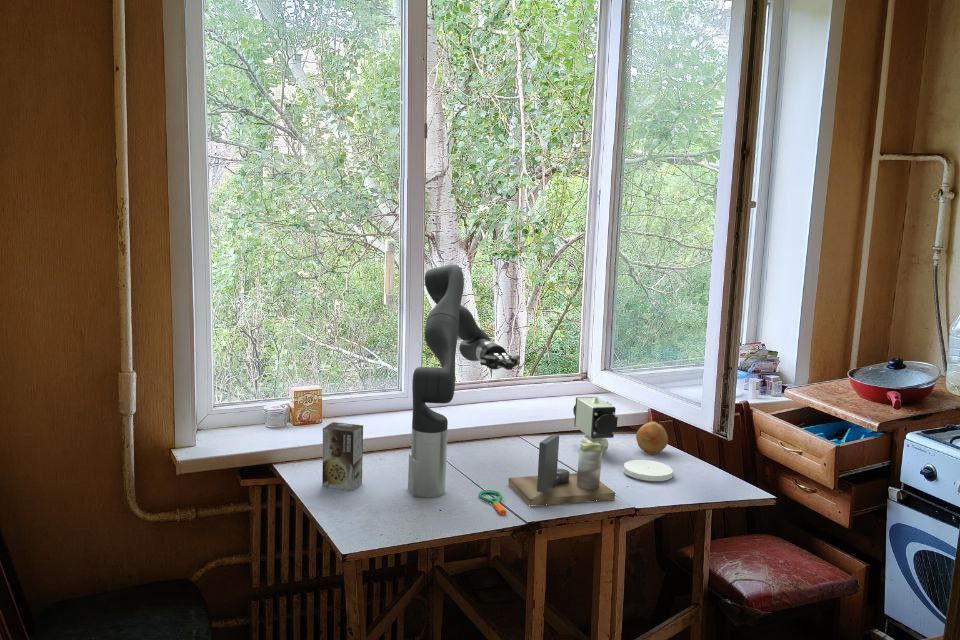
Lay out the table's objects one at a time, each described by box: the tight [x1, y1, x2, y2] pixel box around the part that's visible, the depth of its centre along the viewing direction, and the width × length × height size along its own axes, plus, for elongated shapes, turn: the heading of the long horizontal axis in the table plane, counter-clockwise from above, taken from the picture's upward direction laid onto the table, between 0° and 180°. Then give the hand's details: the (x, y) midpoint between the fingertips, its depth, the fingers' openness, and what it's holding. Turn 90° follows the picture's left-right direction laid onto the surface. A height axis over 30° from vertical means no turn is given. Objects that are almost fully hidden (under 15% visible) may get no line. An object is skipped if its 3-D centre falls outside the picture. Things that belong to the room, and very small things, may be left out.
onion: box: [635, 421, 669, 455], centre depth 247 cm, size 10×10×10 cm
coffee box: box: [321, 421, 364, 491], centre depth 205 cm, size 9×6×16 cm
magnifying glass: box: [478, 489, 507, 516], centre depth 198 cm, size 15×6×2 cm, turn 14°
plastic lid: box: [623, 459, 674, 482], centre depth 226 cm, size 14×14×2 cm
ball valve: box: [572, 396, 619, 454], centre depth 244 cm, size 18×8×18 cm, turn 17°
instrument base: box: [507, 442, 616, 506], centre depth 208 cm, size 24×16×14 cm, turn 108°
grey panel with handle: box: [537, 433, 571, 493], centre depth 205 cm, size 16×5×14 cm, turn 153°
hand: (510, 366), depth 223 cm, fingers closed
